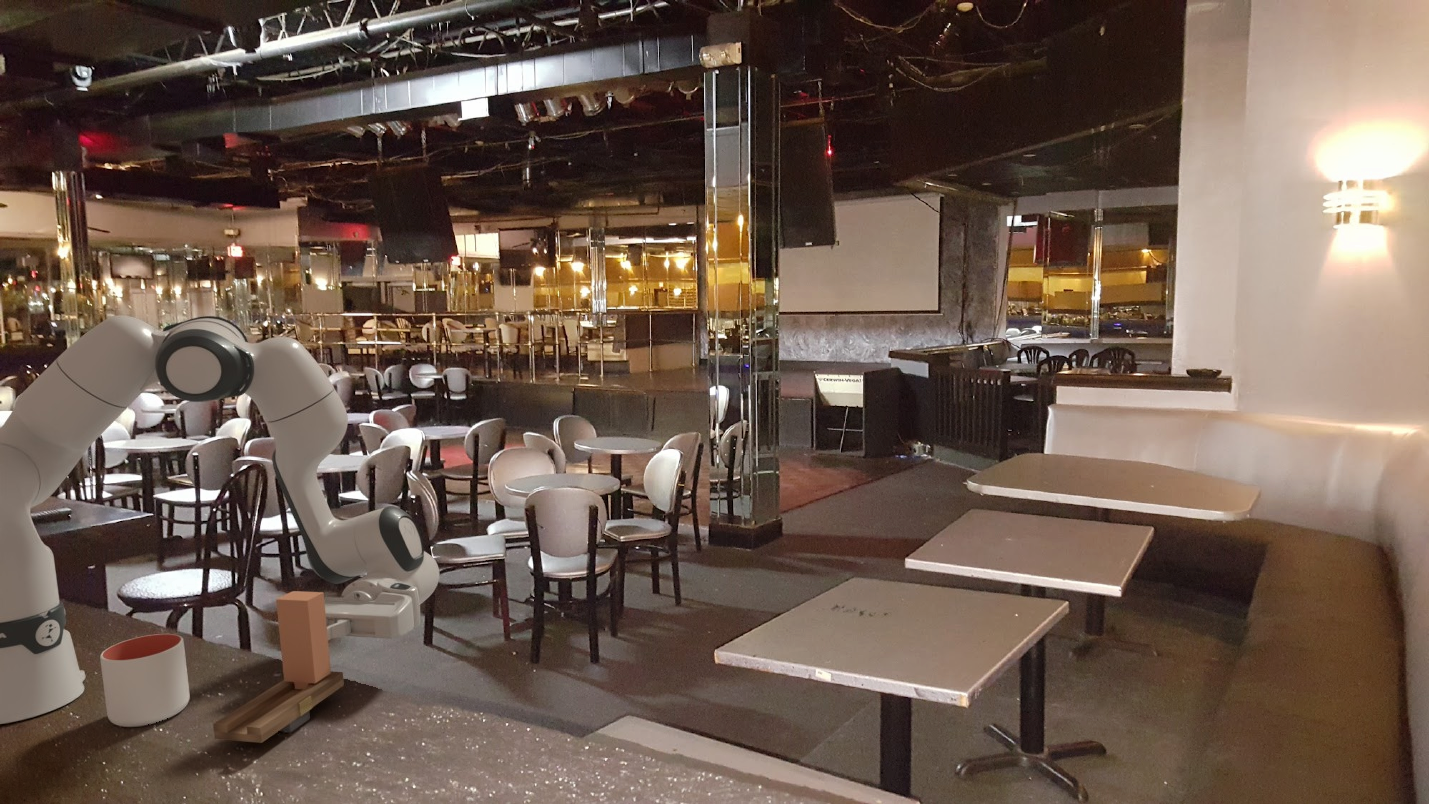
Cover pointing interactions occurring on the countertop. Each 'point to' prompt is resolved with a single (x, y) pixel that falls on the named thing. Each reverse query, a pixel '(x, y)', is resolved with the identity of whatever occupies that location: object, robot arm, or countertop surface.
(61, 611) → the robot arm
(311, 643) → the plate
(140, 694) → the cup
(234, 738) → the beam
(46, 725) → the countertop surface
